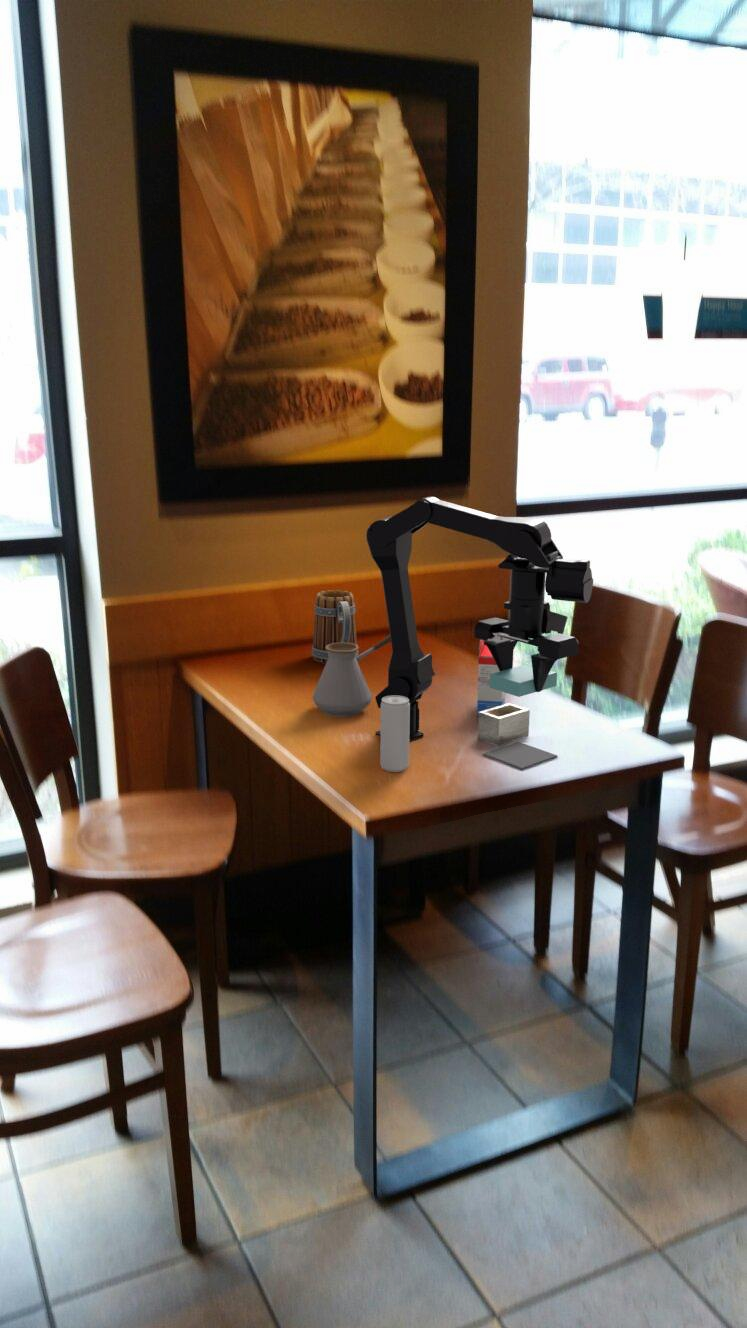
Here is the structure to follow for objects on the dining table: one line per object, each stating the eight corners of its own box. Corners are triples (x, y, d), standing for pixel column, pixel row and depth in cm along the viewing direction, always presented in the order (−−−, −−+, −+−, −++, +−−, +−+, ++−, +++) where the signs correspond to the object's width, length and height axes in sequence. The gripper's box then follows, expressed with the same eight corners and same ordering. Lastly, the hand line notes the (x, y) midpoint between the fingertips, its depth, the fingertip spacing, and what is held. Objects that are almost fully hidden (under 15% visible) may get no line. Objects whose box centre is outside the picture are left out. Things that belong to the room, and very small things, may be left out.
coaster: (521, 770, 180) (522, 767, 180) (482, 755, 187) (482, 753, 187) (557, 757, 186) (557, 755, 186) (517, 743, 193) (518, 741, 192)
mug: (306, 654, 248) (305, 590, 244) (350, 651, 251) (350, 587, 247) (324, 673, 234) (323, 605, 230) (370, 669, 237) (371, 602, 233)
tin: (498, 745, 191) (499, 719, 190) (477, 738, 195) (478, 712, 194) (528, 735, 196) (529, 709, 195) (508, 728, 200) (509, 703, 199)
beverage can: (408, 762, 184) (409, 694, 180) (409, 773, 179) (410, 704, 176) (379, 762, 183) (380, 695, 180) (380, 773, 179) (381, 704, 175)
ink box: (501, 716, 207) (504, 642, 203) (476, 715, 208) (478, 641, 204) (505, 703, 215) (508, 631, 211) (480, 701, 216) (483, 630, 212)
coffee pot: (330, 724, 202) (329, 646, 198) (302, 707, 212) (301, 633, 208) (425, 705, 213) (427, 632, 209) (394, 690, 222) (395, 619, 218)
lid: (519, 696, 178) (519, 683, 177) (489, 687, 183) (490, 674, 182) (556, 685, 184) (557, 672, 183) (526, 677, 188) (527, 664, 188)
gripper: (603, 599, 177) (597, 690, 181) (517, 581, 191) (513, 666, 195) (558, 609, 170) (553, 703, 174) (473, 589, 184) (470, 677, 188)
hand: (522, 686), depth 183 cm, fingers closed on lid, 7 cm apart
